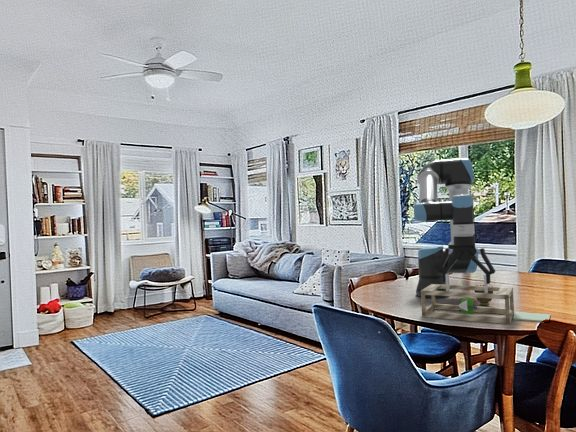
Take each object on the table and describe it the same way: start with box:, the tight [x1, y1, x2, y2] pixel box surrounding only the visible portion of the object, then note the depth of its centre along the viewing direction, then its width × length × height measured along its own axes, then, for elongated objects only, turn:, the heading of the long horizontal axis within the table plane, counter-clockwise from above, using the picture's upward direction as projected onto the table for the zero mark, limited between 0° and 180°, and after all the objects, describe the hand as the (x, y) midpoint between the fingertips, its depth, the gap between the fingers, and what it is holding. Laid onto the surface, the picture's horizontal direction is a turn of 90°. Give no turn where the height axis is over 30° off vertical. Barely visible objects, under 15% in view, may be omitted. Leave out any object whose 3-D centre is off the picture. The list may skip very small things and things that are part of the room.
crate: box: [420, 284, 515, 325], centre depth 164 cm, size 30×16×10 cm, turn 58°
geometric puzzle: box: [457, 297, 477, 315], centre depth 164 cm, size 7×7×8 cm
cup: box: [473, 284, 494, 307], centre depth 179 cm, size 8×7×8 cm
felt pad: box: [512, 311, 551, 323], centre depth 156 cm, size 11×11×1 cm
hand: (466, 291), depth 164 cm, fingers open, 13 cm apart
